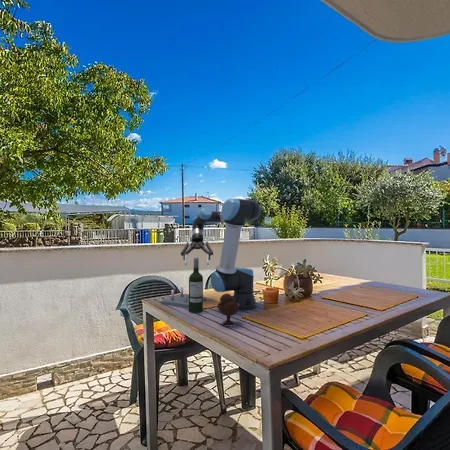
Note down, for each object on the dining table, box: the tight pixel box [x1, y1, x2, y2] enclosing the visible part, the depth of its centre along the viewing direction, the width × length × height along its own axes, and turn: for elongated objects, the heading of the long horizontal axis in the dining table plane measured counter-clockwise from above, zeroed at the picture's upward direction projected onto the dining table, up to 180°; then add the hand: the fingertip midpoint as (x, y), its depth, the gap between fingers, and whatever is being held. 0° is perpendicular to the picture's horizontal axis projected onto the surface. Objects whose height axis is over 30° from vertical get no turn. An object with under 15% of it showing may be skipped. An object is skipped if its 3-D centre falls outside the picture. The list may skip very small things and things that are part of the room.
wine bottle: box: [188, 257, 204, 314], centre depth 164 cm, size 8×8×30 cm
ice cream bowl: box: [217, 293, 240, 326], centre depth 142 cm, size 11×11×15 cm
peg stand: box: [160, 286, 207, 309], centre depth 183 cm, size 20×20×8 cm
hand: (196, 264), depth 177 cm, fingers open, 13 cm apart
